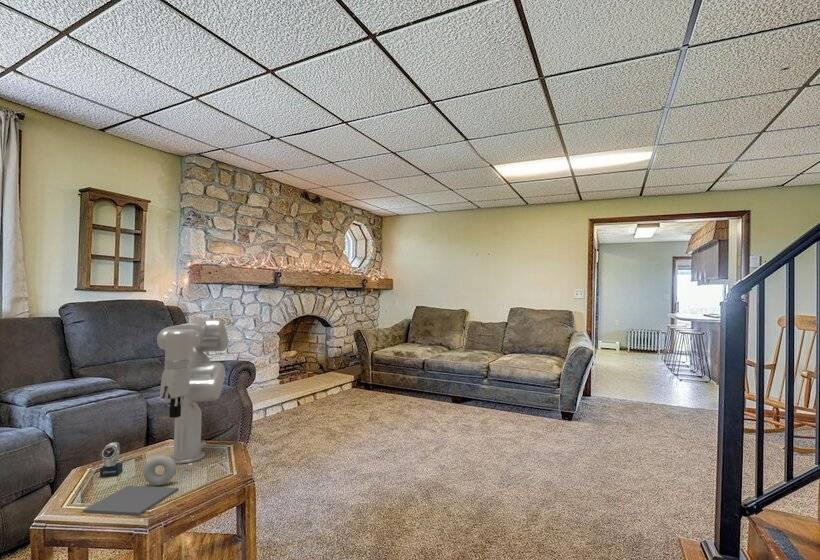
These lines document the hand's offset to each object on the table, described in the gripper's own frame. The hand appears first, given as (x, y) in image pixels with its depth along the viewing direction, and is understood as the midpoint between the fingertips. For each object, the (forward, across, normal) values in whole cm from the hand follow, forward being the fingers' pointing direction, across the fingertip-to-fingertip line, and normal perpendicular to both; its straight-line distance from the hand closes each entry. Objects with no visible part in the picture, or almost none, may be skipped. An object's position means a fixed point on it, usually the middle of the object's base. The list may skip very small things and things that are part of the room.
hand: (175, 416), depth 150 cm
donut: (+21, +7, 0) cm, 22 cm away
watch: (+21, 0, -24) cm, 32 cm away
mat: (+21, +18, 0) cm, 28 cm away
